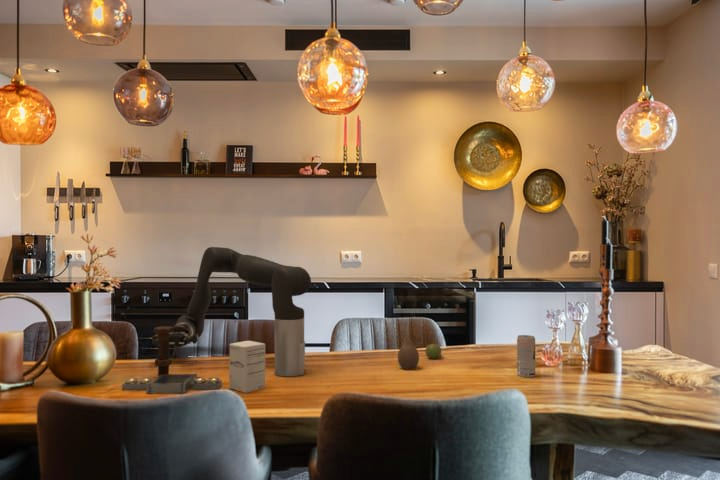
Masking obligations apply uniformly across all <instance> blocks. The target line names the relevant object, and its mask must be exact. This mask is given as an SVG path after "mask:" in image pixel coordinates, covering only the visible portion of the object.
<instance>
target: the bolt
mask: <svg viewBox="0 0 720 480" xmlns="http://www.w3.org/2000/svg"><path fill="white" fill-rule="evenodd" d="M173 327H174V326H167V325H165V326H164V325H163V326H156V327H154V328H153V331H152V332H153V334H155V335H156V334H158V343H159V344H158V346H157V351H158V352H157V353H158V354H157V358H156V359H155V360H154V365H155V366H156V367H157V377H158V376H159V375H161V374H170V369H169V368H170V366H171V365H172V364H173V359H172V358H171V357H170V344H169V334H170V333H172V332H174V328H173Z"/></svg>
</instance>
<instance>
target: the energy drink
mask: <svg viewBox="0 0 720 480" xmlns="http://www.w3.org/2000/svg"><path fill="white" fill-rule="evenodd" d="M516 369H517V370H516V372H517V373H516V374H517V376H519V377H521V378H530V379H531V378H534V377H535V376H536V338H535V336H534V335H530V334H529V335H528V334H521V335H517V338H516Z"/></svg>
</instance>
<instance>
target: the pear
mask: <svg viewBox="0 0 720 480" xmlns="http://www.w3.org/2000/svg"><path fill="white" fill-rule="evenodd" d="M441 354H442V348H441V346H440V345H438V344H436V343H430V344H428V345H426V347H425V355H426V357H428V359H430V358H431V359H430V360H436V359H438V358H440V356H441Z"/></svg>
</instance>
